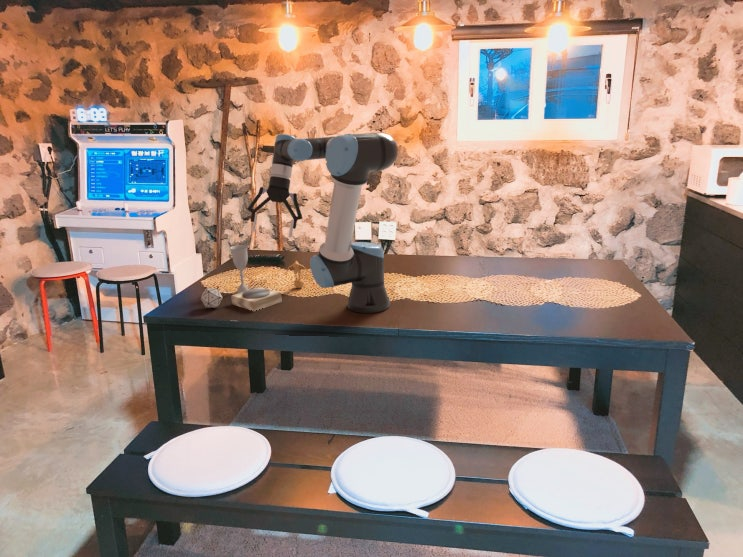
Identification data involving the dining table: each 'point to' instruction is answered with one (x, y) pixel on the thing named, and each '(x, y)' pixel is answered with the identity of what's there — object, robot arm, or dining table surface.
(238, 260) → the chalice
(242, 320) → the dining table surface
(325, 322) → the dining table surface
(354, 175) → the robot arm
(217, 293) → the game die
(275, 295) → the pedestal
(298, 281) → the figurine
